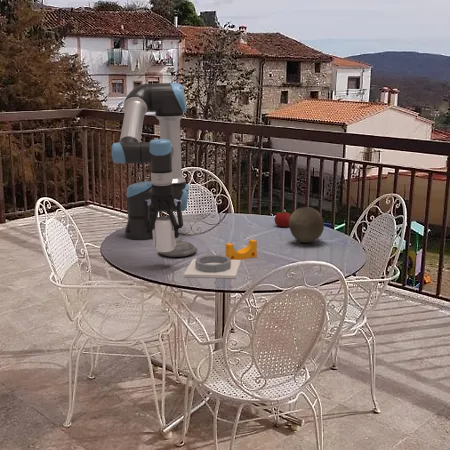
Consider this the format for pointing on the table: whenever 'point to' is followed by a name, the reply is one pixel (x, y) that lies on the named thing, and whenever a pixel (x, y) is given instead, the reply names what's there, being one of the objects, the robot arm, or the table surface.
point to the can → (163, 234)
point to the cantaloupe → (306, 224)
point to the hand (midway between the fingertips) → (164, 246)
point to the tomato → (282, 219)
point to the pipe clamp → (242, 251)
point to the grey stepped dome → (181, 249)
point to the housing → (213, 267)
